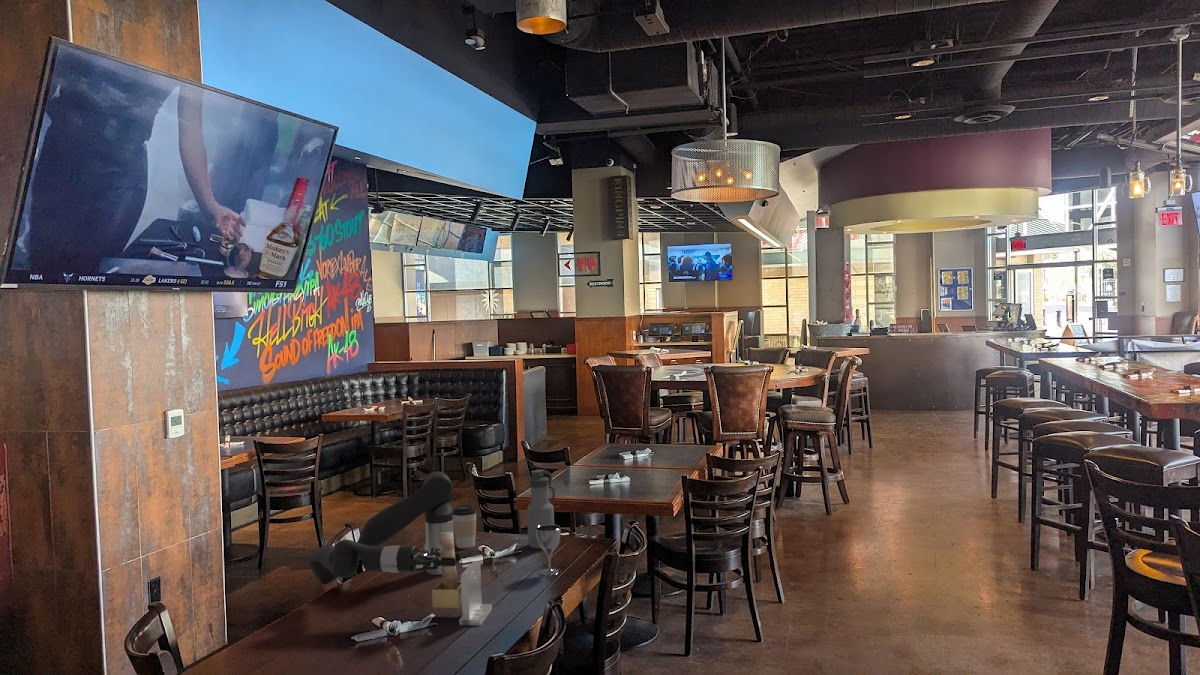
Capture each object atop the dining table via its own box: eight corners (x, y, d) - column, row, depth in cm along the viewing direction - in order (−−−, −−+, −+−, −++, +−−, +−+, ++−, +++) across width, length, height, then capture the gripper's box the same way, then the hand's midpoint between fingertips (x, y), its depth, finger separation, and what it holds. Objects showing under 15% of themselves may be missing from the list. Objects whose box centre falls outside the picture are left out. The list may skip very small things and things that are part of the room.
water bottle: (542, 540, 294) (539, 466, 293) (561, 544, 288) (558, 469, 287) (523, 546, 286) (520, 471, 285) (542, 551, 280) (539, 474, 279)
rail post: (441, 597, 219) (435, 534, 219) (452, 593, 222) (446, 531, 222) (450, 599, 217) (444, 536, 217) (461, 595, 220) (455, 532, 220)
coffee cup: (448, 547, 288) (447, 507, 288) (463, 541, 296) (462, 502, 296) (468, 550, 284) (466, 509, 284) (482, 543, 292) (481, 504, 292)
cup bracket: (430, 624, 214) (428, 574, 214) (444, 608, 226) (442, 561, 226) (480, 625, 212) (478, 575, 212) (492, 609, 224) (490, 561, 224)
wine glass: (560, 576, 251) (559, 530, 251) (536, 576, 251) (534, 531, 251) (562, 568, 259) (560, 524, 259) (539, 569, 259) (537, 524, 259)
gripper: (409, 564, 228) (466, 564, 226) (390, 580, 214) (450, 580, 212) (408, 538, 228) (465, 539, 226) (389, 553, 214) (449, 553, 212)
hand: (457, 559), depth 219 cm, fingers closed on rail post, 4 cm apart
